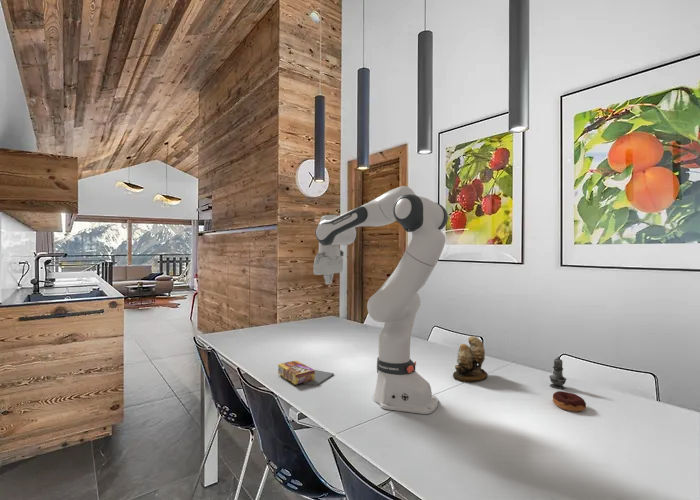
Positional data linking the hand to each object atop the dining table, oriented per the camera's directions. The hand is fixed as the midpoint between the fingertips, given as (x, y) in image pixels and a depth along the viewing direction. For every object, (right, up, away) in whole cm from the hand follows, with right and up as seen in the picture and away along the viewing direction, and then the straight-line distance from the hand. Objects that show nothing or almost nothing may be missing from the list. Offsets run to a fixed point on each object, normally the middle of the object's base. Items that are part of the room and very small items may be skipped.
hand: (328, 284), depth 159 cm
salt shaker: (+90, -39, -16) cm, 100 cm away
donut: (+84, -39, -34) cm, 99 cm away
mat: (-8, -37, -9) cm, 39 cm away
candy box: (-17, -34, -5) cm, 39 cm away
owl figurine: (+60, -38, -6) cm, 71 cm away
